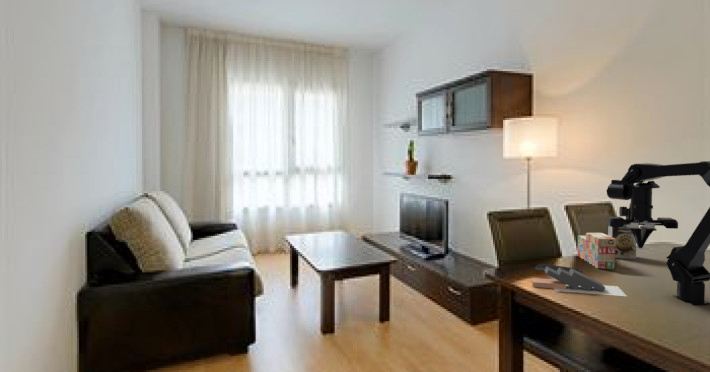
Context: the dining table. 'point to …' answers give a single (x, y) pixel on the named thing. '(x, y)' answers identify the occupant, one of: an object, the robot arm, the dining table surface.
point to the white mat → (595, 290)
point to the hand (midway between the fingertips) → (640, 248)
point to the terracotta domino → (548, 283)
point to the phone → (554, 267)
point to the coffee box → (623, 242)
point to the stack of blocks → (597, 250)
